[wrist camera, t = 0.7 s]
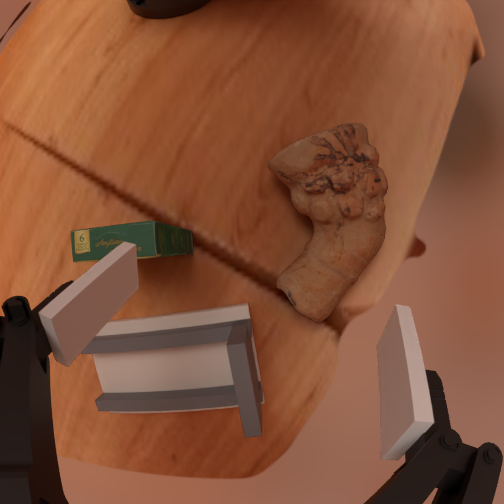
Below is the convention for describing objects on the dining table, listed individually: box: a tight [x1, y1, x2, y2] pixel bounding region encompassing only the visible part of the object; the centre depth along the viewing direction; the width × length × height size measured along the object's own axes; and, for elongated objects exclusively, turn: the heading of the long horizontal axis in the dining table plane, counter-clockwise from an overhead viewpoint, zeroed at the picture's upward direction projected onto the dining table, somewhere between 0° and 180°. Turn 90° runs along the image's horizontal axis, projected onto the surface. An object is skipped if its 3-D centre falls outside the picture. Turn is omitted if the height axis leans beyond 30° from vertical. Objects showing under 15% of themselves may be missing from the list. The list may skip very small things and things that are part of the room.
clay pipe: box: [268, 123, 388, 323], centre depth 32 cm, size 19×11×15 cm
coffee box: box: [71, 221, 193, 262], centre depth 30 cm, size 8×3×13 cm, turn 93°
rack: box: [81, 303, 265, 438], centre depth 31 cm, size 12×20×11 cm, turn 99°
